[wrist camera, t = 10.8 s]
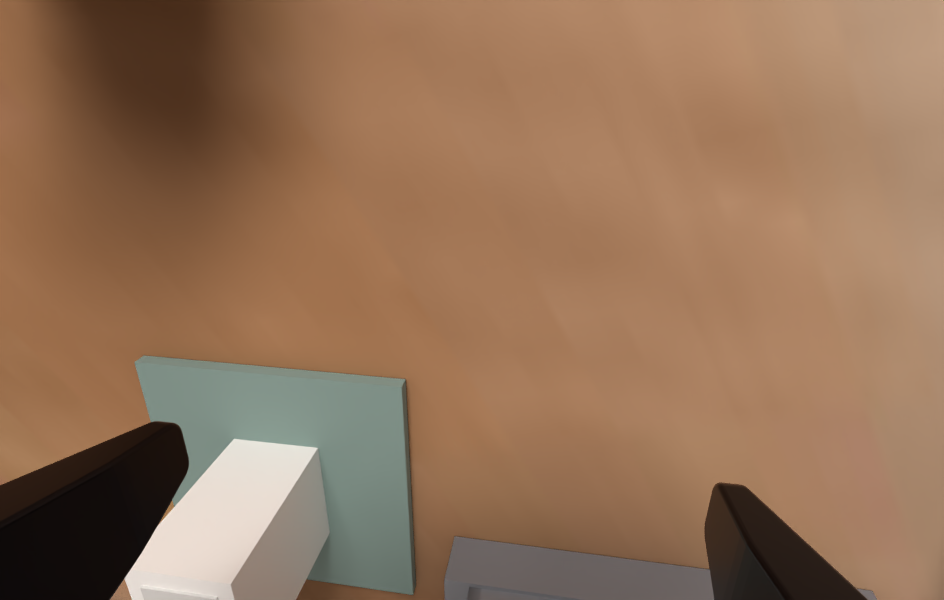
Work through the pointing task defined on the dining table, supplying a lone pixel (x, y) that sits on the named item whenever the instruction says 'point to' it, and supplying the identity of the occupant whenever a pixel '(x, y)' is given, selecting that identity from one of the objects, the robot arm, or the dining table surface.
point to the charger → (239, 529)
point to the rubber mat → (311, 425)
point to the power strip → (566, 575)
